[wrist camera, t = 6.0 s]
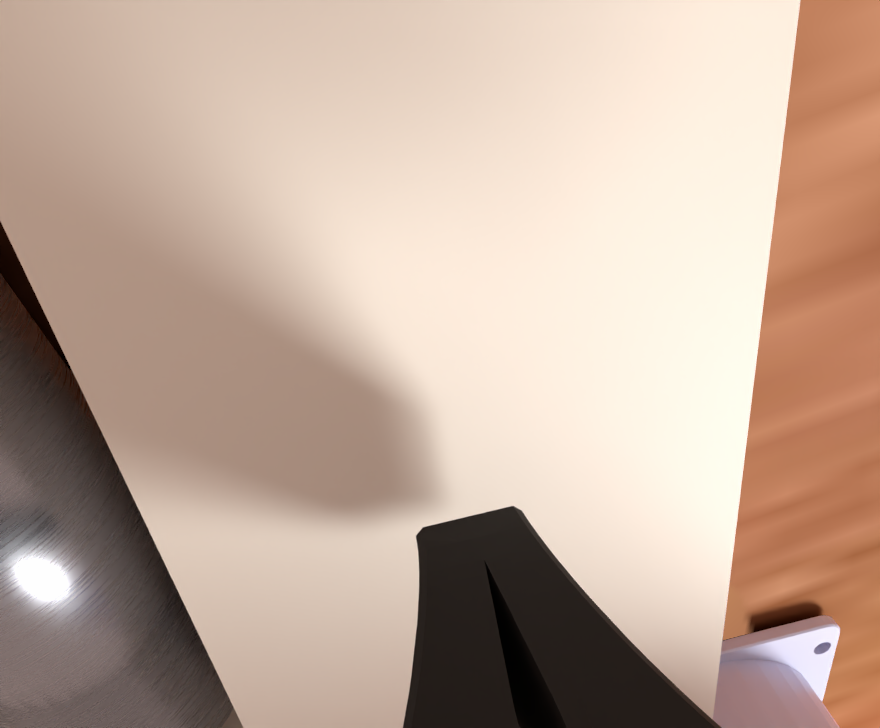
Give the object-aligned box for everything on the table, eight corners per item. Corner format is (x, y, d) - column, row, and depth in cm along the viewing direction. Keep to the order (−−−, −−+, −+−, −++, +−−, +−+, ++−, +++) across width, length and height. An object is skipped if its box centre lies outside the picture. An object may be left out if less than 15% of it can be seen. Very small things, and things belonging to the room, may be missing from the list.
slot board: (635, 583, 19) (711, 725, 16) (-82, 759, 17) (-169, 960, 14) (650, -171, 10) (826, -219, 7) (-752, 38, 9) (-1391, 109, 5)
